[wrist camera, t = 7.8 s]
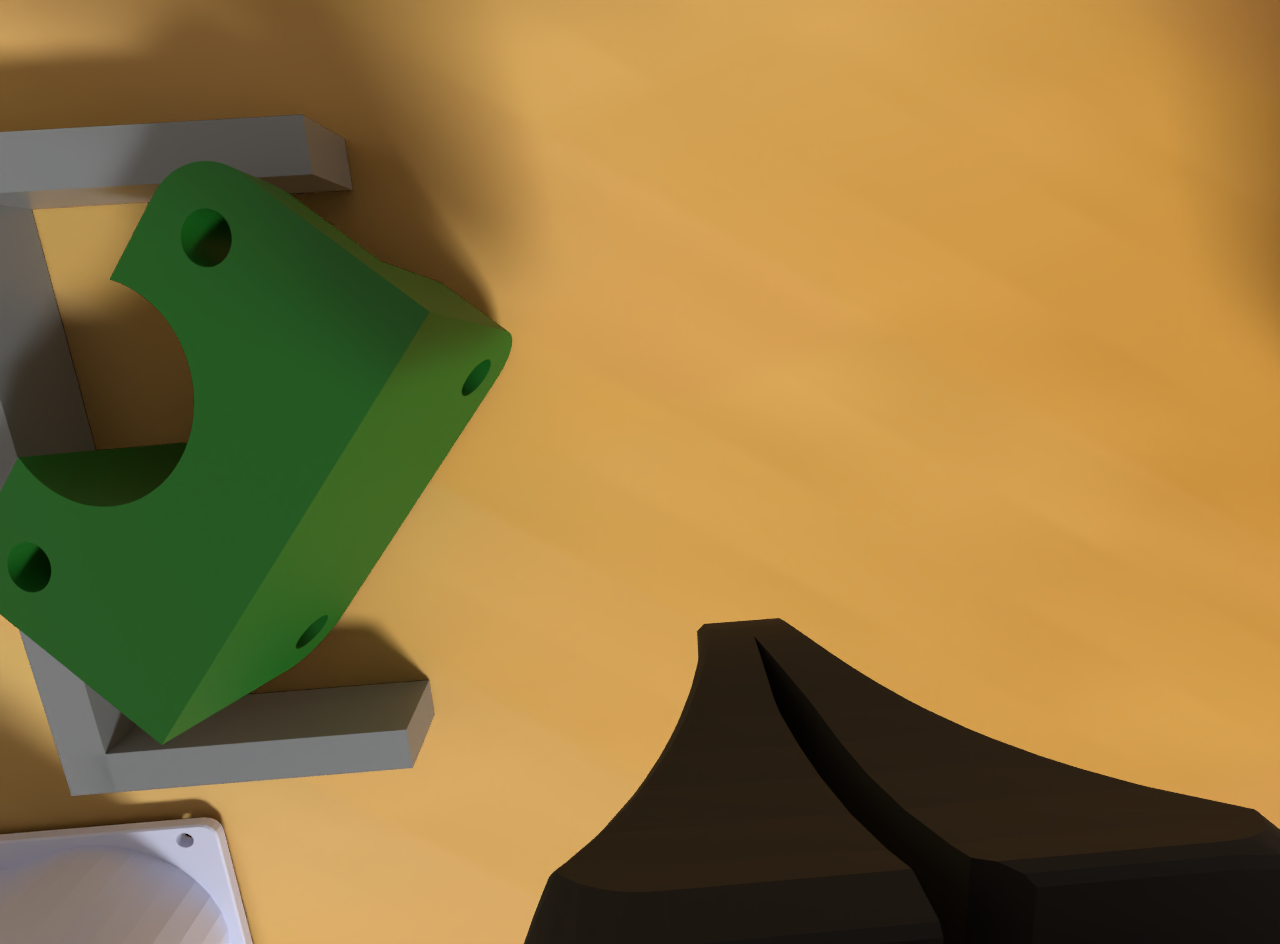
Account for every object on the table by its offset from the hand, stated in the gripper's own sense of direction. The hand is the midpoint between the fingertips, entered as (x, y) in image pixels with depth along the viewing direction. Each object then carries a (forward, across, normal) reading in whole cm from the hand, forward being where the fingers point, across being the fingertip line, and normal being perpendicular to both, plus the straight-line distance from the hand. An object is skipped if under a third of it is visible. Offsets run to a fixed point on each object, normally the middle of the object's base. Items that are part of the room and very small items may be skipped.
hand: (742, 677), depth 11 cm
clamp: (+10, +10, -3) cm, 15 cm away
